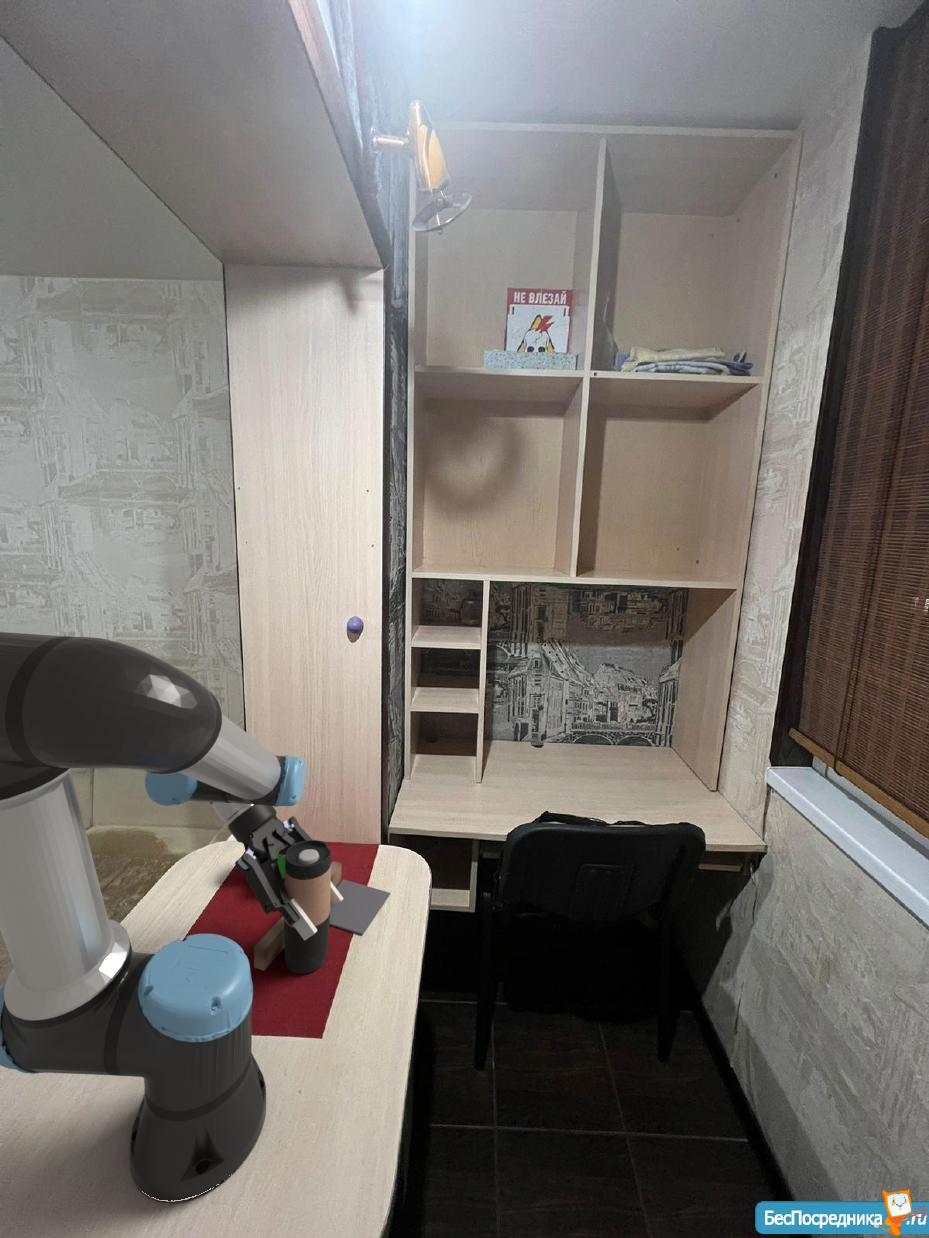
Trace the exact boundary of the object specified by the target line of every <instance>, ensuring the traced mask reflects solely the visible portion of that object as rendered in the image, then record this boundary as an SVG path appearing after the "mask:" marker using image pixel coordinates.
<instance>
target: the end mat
mask: <svg viewBox="0 0 929 1238" xmlns="http://www.w3.org/2000/svg"><path fill="white" fill-rule="evenodd" d="M335 888H336V889H337V890H338V892H339V893H340V894H341V896H342V897H343V900H342V901H341V902H339V903H338V904H336V905H335V906H334V907H332V908H331V907H330V921H329V926H330V927H331V926H332V927H335V928H337V927H338V929H341V930H343V931H347V932H350V933H353V934H356V935H358V936H359V935H360V936H363V935H364V934H365V932H366V931H367V929H368V928H369V926H370V925H371V923H372V922H373V921H374V919H375V918H376V916H377V915H378V913H379V911H380V910H381V908H383V906H384V904H385V903H386V901H387V900H388V898H389V897H390V896H389V895H391V892H389V891H385V890H382V889H379V888H375V887H372V886H368V885H365V884H362V883H359V882H353V881H350V880H347V879H341V881H340V883H339V884H338V885H337V886H336V887H335Z"/></svg>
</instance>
